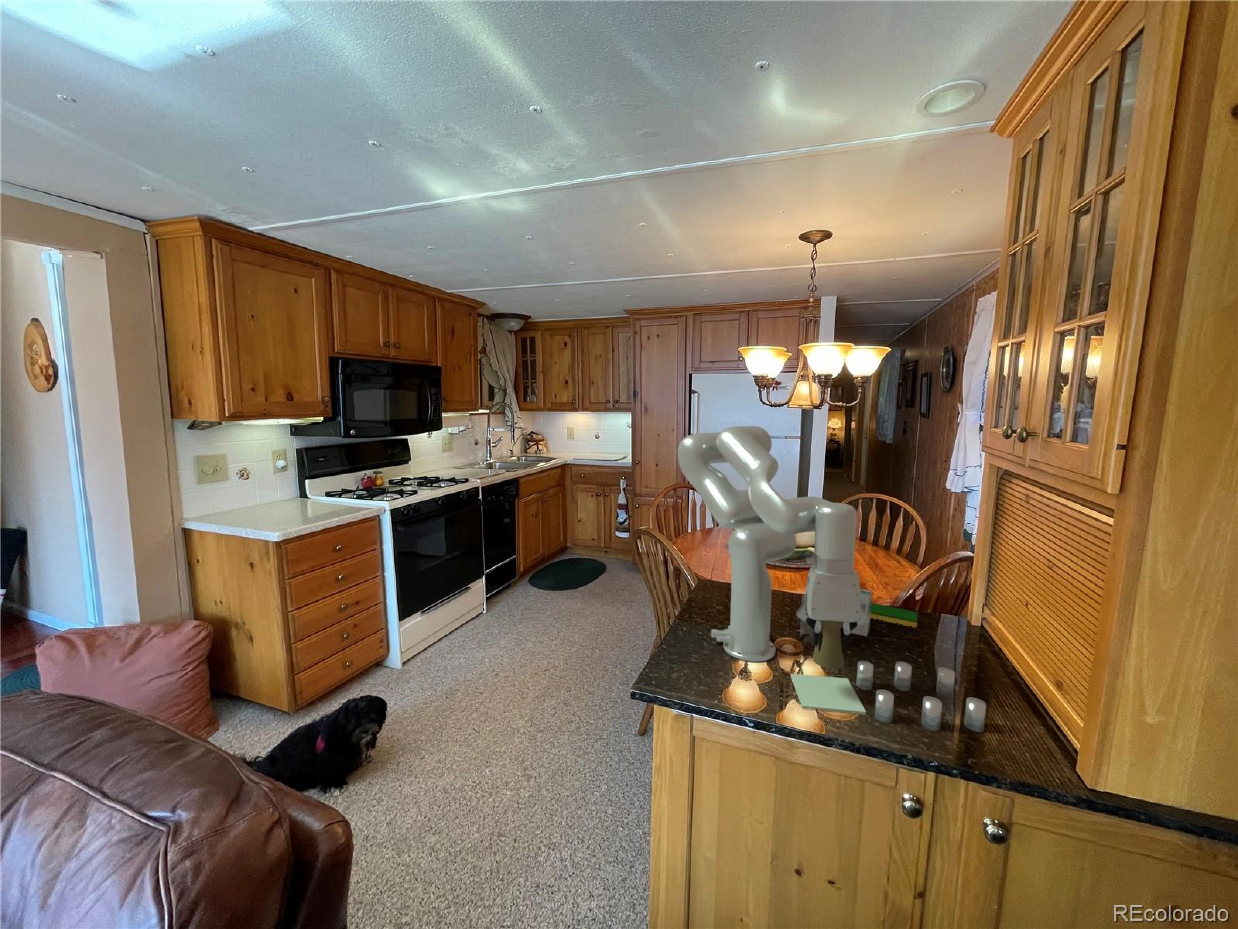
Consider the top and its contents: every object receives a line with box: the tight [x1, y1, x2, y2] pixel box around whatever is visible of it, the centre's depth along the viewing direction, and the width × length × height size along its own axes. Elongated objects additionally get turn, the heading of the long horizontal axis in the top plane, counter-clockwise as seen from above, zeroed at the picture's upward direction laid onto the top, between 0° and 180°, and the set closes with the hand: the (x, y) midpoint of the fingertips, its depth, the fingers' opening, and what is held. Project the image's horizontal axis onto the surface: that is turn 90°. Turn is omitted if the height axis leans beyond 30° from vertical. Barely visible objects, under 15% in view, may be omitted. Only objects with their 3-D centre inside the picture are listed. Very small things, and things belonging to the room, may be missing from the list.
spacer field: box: [855, 660, 987, 733], centre depth 98 cm, size 19×16×5 cm
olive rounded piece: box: [812, 621, 845, 670], centre depth 100 cm, size 6×6×11 cm
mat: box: [790, 673, 867, 716], centre depth 102 cm, size 12×12×1 cm
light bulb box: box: [850, 588, 872, 637], centre depth 133 cm, size 11×7×11 cm, turn 57°
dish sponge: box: [870, 602, 918, 628], centre depth 140 cm, size 7×14×2 cm, turn 58°
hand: (829, 648), depth 101 cm, fingers closed on olive rounded piece, 3 cm apart
